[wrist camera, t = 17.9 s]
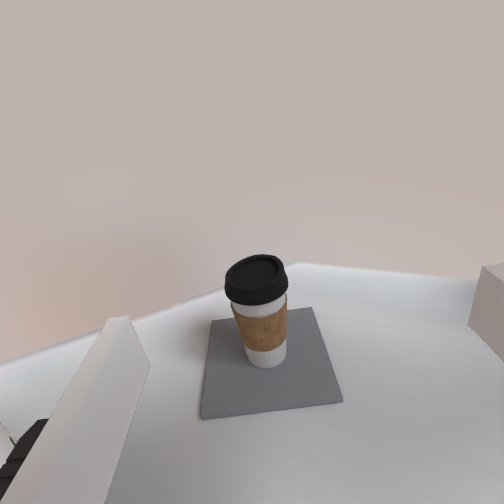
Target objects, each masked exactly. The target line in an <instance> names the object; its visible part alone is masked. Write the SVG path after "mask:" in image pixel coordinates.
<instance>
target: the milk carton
mask: <svg viewBox="0 0 504 504" xmlns="http://www.w3.org/2000/svg"><path fill="white" fill-rule="evenodd" d="M16 444H17V441H16V440H15V439H14V438H13V436H12V435H11V434H10V433H9V432H8V431H7V430H6V428H5V427H4V426H3V425H2V424H1V423H0V468H1V467H2V465H3V464H5V463H6V459H7V458H8V456H9V454H10V453H11V451H12V450H13V448H14V447H15V445H16Z"/></svg>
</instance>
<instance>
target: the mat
mask: <svg viewBox="0 0 504 504" xmlns="http://www.w3.org/2000/svg"><path fill="white" fill-rule="evenodd" d="M340 402H343V397H342V394H341V391H340V388H339V385H338V383H337V380H336V377H335V374H334V371H333V368H332V365H331V362H330V359H329V356H328V353H327V350H326V348H325V345H324V342H323V339H322V336H321V333H320V330H319V327H318V324H317V321H316V318H315V315H314V312H313V310H312V307H309V308H301V309H294V310H287V330H286V356H285V358H284V360H283V361H282V362H281V363H280V364H279V365H277V366H275V367H272V368H259V367H256V366H255V365H253V364H252V363H251V362H250V361H249V359H248V356H247V353H246V349H245V346H244V343H243V340H242V338H241V335H240V332H239V329H238V326H237V323H236V320H235V318H229V319H222V320H215V321H212V324H211V332H210V340H209V349H208V357H207V366H206V374H205V382H204V391H203V399H202V407H201V419H202V420H206V419H214V418H222V417H230V416H238V415H246V414H254V413H261V412H269V411H277V410H285V409H293V408H301V407H309V406H316V405H324V404H332V403H340Z"/></svg>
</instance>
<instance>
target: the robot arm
mask: <svg viewBox="0 0 504 504" xmlns="http://www.w3.org/2000/svg"><path fill="white" fill-rule="evenodd" d="M468 325H469V326H470V327H471V328H472V329H473V330H474V331H475V332H476V333H477V334H478V336H479V337H480V338H481V339H482V340H483V341H484V342H485V343H486V344H487V345H488V346H489V347H490V348H491V349H492V350H493V351H494V352H495V353H496V354H497V355H498V356H499V357H500V358H501V359H502V360H503V361H504V264H497V265H490V266H483V267H482V270H481V274H480V278H479V282H478V286H477V290H476V294H475V298H474V302H473V306H472V310H471V314H470V318H469V322H468ZM149 369H150V364H149V361H148V359H147V357H146V355H145V352H144V350H143V348H142V346H141V343H140V341H139V339H138V336H137V334H136V332H135V330H134V327H133V325H132V323H131V320H130V318H129V316H121V317H114V318H109V319H108V320H107V322H106V324H105V325H104V327H103V329H102V330H101V332H100V334H99V335H98V337H97V339H96V340H95V342H94V344H93V345H92V347H91V349H90V351H89V352H88V354H87V356H86V357H85V359H84V361H83V362H82V364H81V366H80V367H79V369H78V371H77V373H76V374H75V376H74V378H73V379H72V381H71V383H70V384H69V386H68V388H67V389H66V391H65V393H64V395H63V396H62V398H61V400H60V401H59V403H58V405H57V406H56V408H55V410H54V411H53V413H52V415H51V417H50V418H48V419H40V420H37V421H36V422H35V423H34V424H33V425H32V426H31V428H30V429H29V430H28V431H27V432H26V433H25V434H24V435H23V436H22V437H21V438H20V439H19V440H18V442H17V444H16V445H15V447H14V448H13V450H12V451H11V453H10V454H9V456H8V458H7V459H6V463H5V464H3V465H2V467H1V468H0V504H105V501H106V498H107V495H108V492H109V489H110V486H111V483H112V480H113V477H114V474H115V471H116V468H117V465H118V462H119V459H120V456H121V453H122V450H123V447H124V444H125V441H126V438H127V435H128V432H129V429H130V426H131V423H132V420H133V417H134V414H135V411H136V408H137V405H138V402H139V399H140V396H141V393H142V390H143V387H144V384H145V381H146V378H147V375H148V372H149Z"/></svg>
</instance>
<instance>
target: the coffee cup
mask: <svg viewBox="0 0 504 504" xmlns="http://www.w3.org/2000/svg"><path fill="white" fill-rule="evenodd" d="M287 288H288V278H287V275H286V273H285V270H284V266H283V263H282V262H281V260H280V259H278V258H277V257H276V256H272V255H264V254H263V255H253V256H250V257H247V258H245V259H243V260H241V261H239V262H237V263H236V264H234V265H233V266H232V267H231V268H230V269H229V270H228V271H227V273H226V277H225V293H226V296H227V297H228V298H229V299H230V300H231V308H232V311H233V314H234V317H235V320H236V323H237V326H238V329H239V332H240V335H241V338H242V340H243V343H244V346H245V349H246V353H247V356H248V359H249V361H250V362H251V363H252V364H253V365H255V366H256V367H259V368H272V367H275V366H277V365H279V364H280V363H281V362H282V361H283V360H284V358H285V356H286V330H287V295H286V290H287Z"/></svg>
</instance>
